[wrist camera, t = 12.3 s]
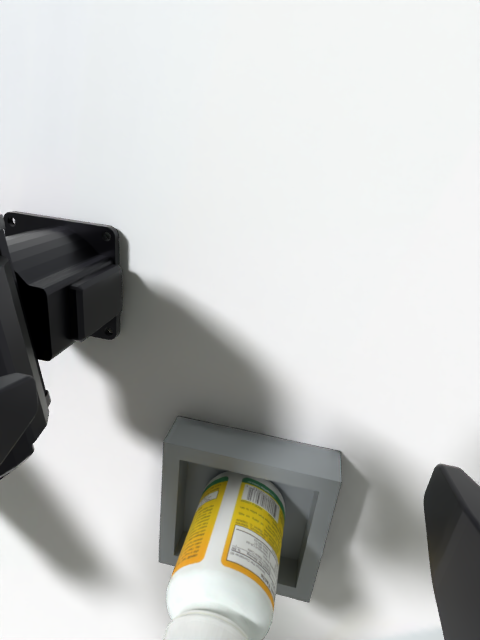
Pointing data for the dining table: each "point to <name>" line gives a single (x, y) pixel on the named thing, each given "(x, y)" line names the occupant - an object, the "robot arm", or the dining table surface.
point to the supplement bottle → (228, 562)
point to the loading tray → (262, 462)
